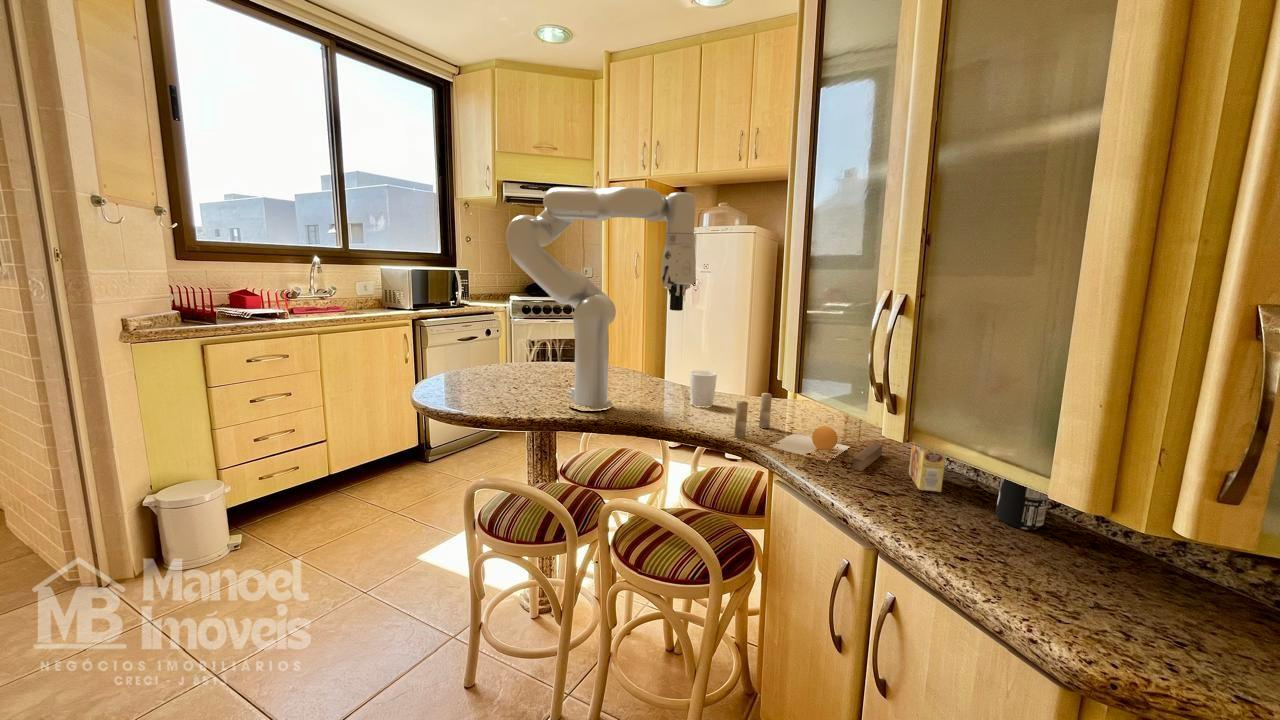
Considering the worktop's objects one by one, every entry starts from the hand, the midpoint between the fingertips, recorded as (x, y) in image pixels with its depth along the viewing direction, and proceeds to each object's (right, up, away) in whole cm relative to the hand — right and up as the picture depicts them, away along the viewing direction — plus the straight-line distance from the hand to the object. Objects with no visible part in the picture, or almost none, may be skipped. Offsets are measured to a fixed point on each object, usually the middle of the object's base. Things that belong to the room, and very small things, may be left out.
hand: (676, 310), depth 142 cm
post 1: (+15, -33, -15) cm, 39 cm away
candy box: (+47, -38, -38) cm, 71 cm away
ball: (+33, -32, -21) cm, 50 cm away
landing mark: (+30, -34, -20) cm, 49 cm away
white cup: (+9, -28, +15) cm, 32 cm away
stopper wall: (+40, -36, -28) cm, 60 cm away
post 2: (+23, -31, -5) cm, 39 cm away
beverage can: (+54, -41, -54) cm, 87 cm away
